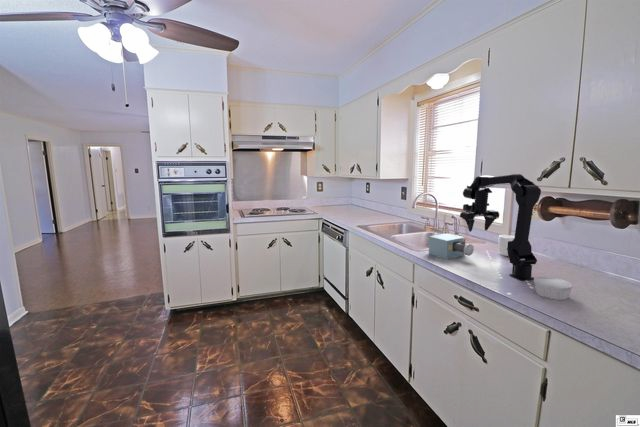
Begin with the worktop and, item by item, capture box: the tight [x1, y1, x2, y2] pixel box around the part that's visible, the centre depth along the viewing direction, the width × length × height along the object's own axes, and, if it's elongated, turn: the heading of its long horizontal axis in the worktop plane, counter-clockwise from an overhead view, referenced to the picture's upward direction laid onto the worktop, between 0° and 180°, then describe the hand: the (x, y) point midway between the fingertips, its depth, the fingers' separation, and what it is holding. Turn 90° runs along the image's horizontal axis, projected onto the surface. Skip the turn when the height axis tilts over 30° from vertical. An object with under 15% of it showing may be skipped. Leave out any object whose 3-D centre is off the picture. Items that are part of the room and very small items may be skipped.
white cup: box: [497, 234, 515, 257], centre depth 158 cm, size 8×8×10 cm
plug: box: [453, 242, 475, 257], centre depth 154 cm, size 14×6×6 cm, turn 26°
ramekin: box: [533, 276, 573, 301], centre depth 108 cm, size 11×11×5 cm
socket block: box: [428, 232, 467, 260], centre depth 160 cm, size 12×14×10 cm
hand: (478, 230), depth 150 cm, fingers open, 9 cm apart
